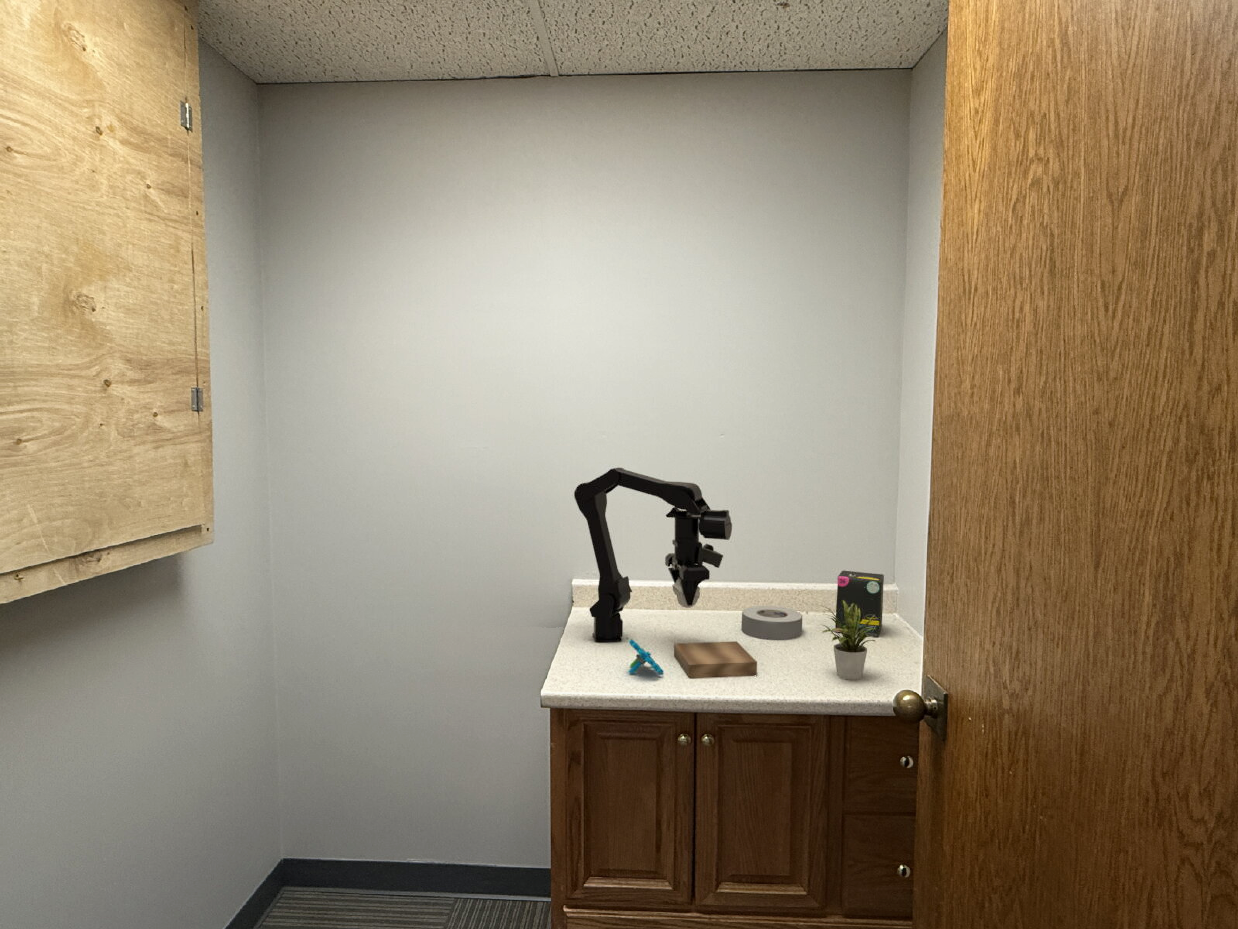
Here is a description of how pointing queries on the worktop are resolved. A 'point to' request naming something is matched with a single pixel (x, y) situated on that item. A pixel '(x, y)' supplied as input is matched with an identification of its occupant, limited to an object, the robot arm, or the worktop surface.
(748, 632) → the tape roll
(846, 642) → the house plant
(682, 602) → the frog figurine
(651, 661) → the gear
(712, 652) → the walnut block
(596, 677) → the worktop surface
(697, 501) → the robot arm
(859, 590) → the tampon box
